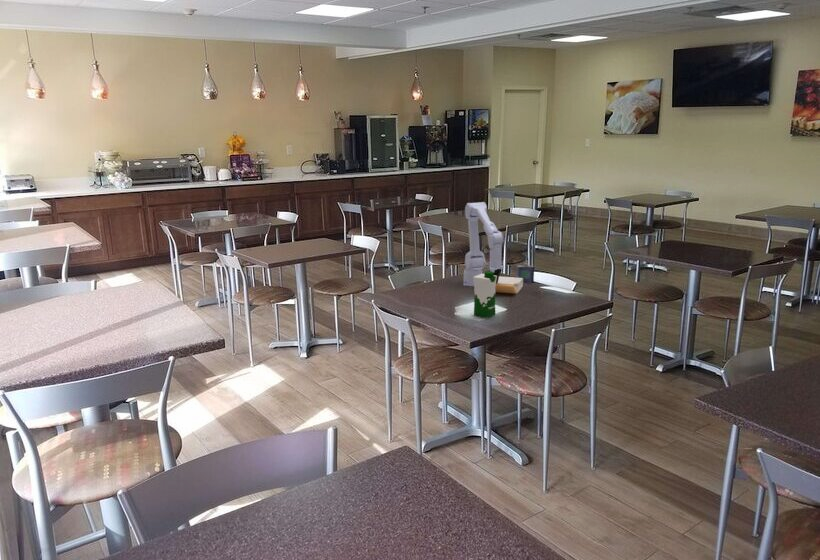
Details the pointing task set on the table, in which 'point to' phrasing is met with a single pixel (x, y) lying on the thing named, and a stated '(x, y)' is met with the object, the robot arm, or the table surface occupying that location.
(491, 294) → the milk carton
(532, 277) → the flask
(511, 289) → the door
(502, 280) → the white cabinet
